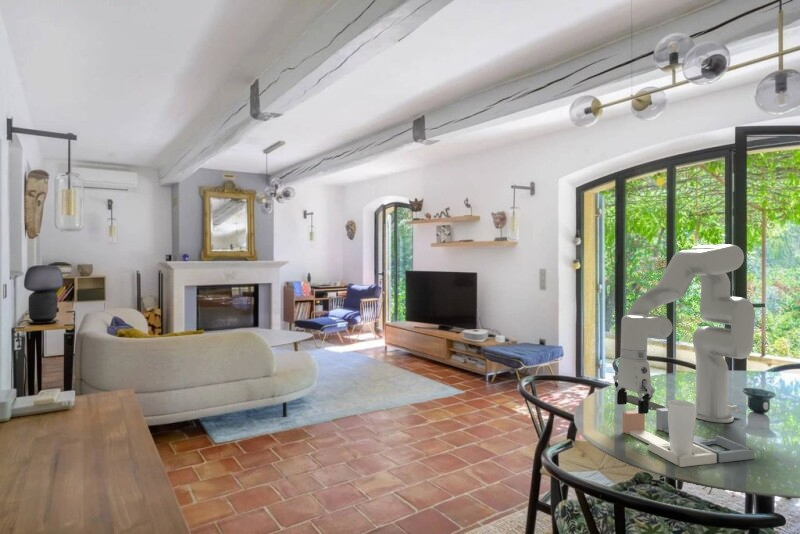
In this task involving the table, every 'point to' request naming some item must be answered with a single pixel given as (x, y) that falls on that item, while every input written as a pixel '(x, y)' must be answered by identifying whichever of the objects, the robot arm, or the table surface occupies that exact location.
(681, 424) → the drinking glass
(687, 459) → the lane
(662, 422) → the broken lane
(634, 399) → the smartphone
